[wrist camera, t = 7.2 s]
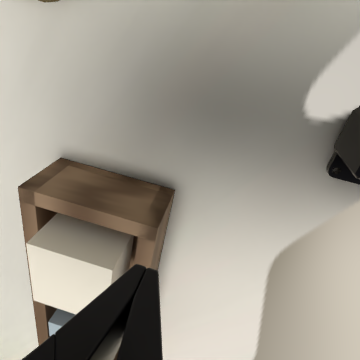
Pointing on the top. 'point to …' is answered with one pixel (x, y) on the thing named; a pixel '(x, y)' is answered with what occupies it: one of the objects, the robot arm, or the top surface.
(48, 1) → the cork
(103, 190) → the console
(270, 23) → the top surface
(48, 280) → the cream block
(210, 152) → the top surface
